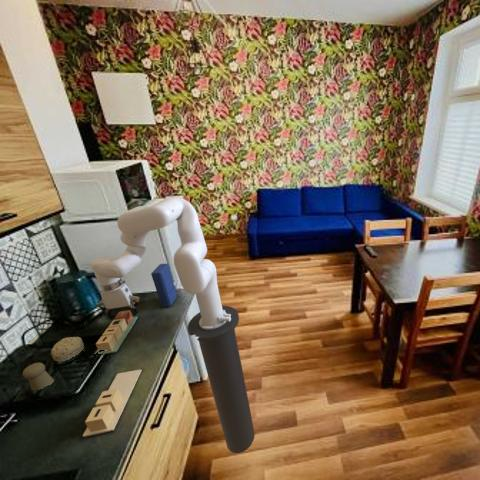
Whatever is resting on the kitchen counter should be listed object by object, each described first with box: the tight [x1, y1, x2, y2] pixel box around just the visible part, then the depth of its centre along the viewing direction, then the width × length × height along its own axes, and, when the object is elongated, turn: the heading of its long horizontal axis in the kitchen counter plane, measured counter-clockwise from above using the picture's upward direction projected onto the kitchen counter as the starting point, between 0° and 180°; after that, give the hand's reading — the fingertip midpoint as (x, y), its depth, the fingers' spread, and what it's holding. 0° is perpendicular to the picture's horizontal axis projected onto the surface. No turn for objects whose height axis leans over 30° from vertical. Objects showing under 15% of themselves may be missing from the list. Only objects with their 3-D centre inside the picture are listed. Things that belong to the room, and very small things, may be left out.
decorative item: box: [50, 336, 85, 362], centre depth 105 cm, size 10×10×10 cm
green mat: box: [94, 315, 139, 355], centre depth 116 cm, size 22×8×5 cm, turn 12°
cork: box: [22, 362, 55, 391], centre depth 91 cm, size 6×6×11 cm
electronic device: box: [150, 263, 179, 308], centre depth 135 cm, size 10×5×20 cm, turn 6°
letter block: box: [114, 310, 134, 324], centre depth 123 cm, size 4×4×5 cm
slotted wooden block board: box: [82, 369, 143, 438], centre depth 88 cm, size 22×8×5 cm, turn 12°
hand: (124, 315), depth 123 cm, fingers open, 9 cm apart
